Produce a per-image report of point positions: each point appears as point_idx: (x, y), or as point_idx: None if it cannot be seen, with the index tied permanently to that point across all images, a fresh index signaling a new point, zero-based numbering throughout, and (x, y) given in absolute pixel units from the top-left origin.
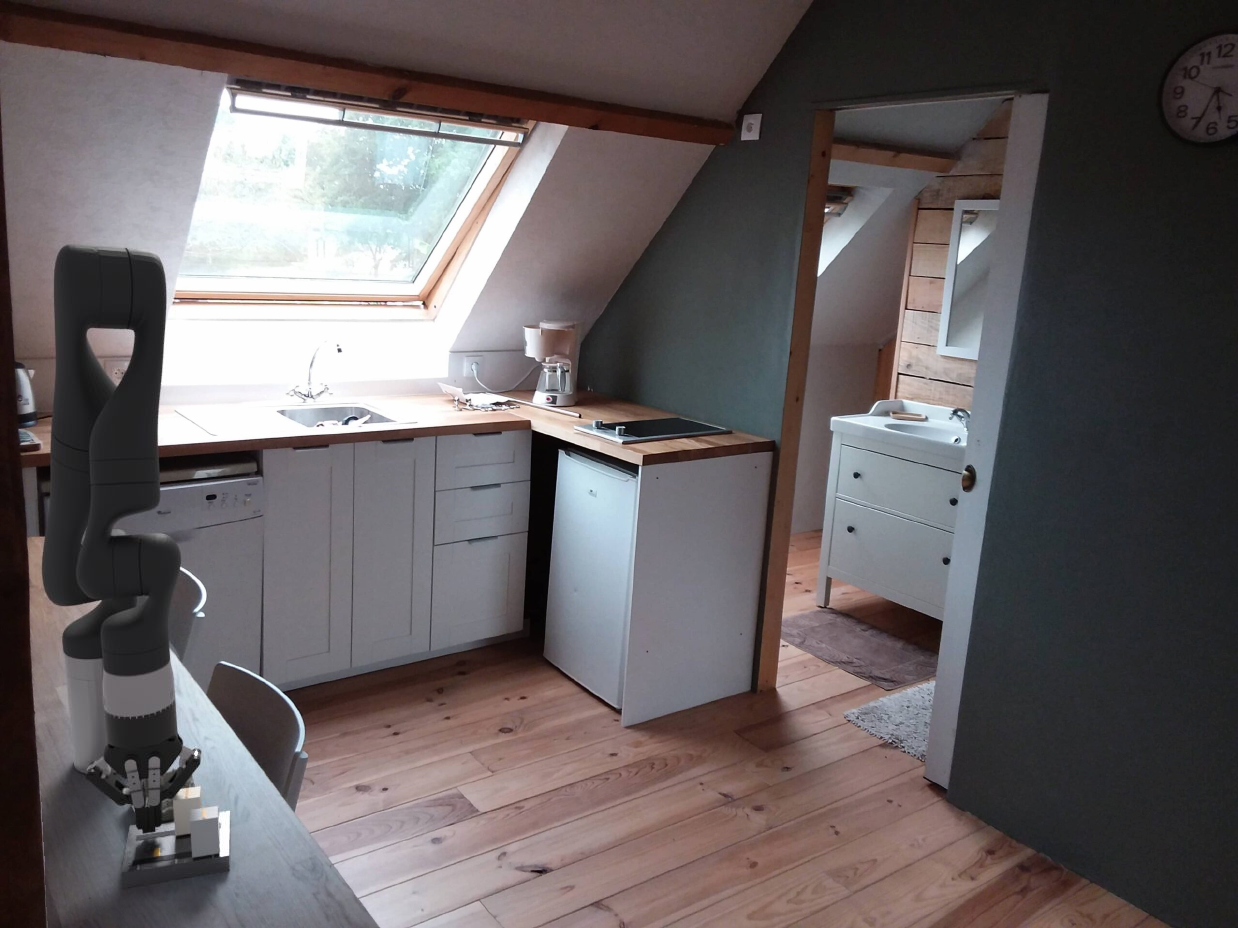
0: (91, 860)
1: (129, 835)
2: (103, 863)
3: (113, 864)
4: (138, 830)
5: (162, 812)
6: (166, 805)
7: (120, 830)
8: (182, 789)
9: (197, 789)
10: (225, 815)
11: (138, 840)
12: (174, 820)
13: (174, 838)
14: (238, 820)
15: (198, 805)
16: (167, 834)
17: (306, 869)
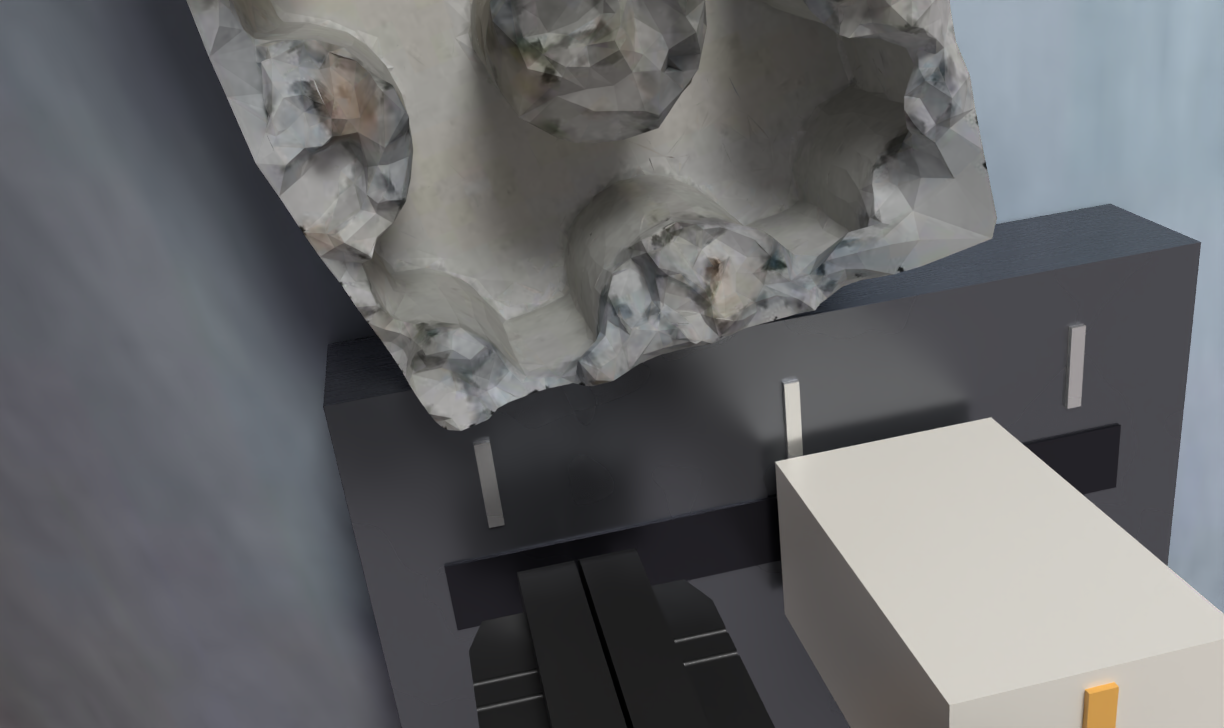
0: (89, 592)
1: (372, 551)
2: (209, 628)
3: (296, 641)
4: (434, 486)
5: (725, 630)
6: (631, 133)
7: (170, 184)
8: (1043, 698)
9: (1203, 692)
10: (1157, 313)
11: (478, 624)
12: (845, 716)
13: (769, 606)
14: (1169, 150)
15: None
16: (708, 561)
17: None
